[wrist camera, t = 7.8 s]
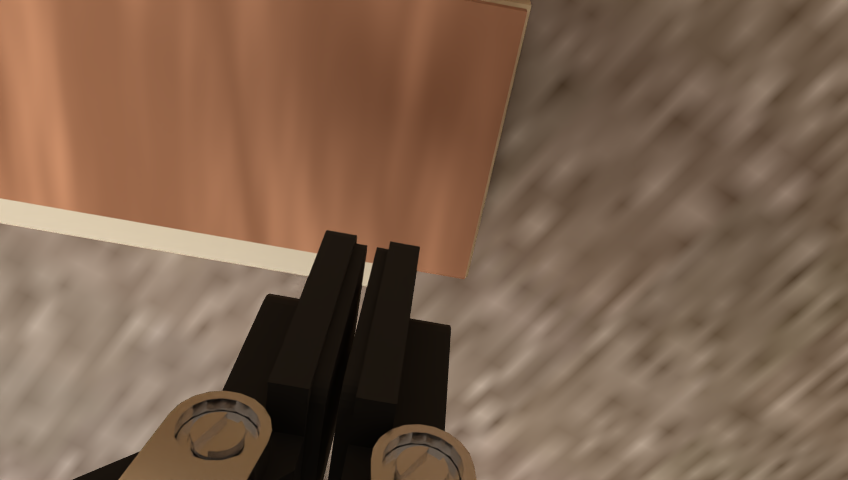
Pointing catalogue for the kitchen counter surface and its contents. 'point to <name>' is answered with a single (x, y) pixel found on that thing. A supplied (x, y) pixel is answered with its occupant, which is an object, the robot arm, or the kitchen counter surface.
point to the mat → (160, 238)
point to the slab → (263, 116)
